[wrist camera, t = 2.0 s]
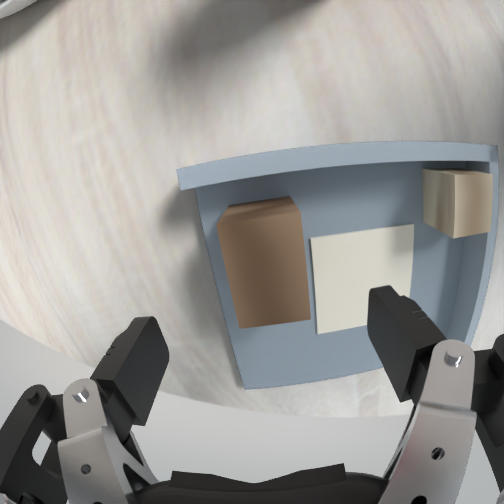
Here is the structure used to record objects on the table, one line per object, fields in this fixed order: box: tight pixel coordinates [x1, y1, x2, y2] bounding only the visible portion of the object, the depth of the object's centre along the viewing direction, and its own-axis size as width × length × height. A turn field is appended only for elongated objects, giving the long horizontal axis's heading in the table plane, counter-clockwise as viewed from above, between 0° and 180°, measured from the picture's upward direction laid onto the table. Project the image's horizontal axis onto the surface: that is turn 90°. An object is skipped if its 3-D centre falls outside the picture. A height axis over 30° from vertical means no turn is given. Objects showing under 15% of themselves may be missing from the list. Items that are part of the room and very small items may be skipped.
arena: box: [176, 141, 499, 390], centre depth 18 cm, size 22×20×4 cm
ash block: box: [422, 168, 493, 239], centre depth 15 cm, size 4×4×4 cm
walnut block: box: [216, 196, 311, 329], centre depth 16 cm, size 4×6×5 cm, turn 9°
